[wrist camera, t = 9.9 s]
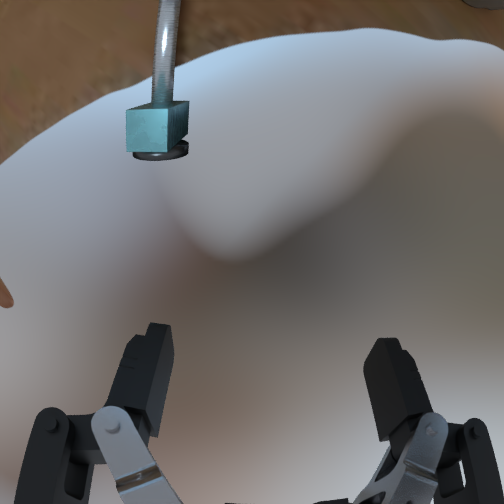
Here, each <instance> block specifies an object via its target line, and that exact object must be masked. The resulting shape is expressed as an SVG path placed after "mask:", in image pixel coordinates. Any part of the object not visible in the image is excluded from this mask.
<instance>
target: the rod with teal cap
mask: <svg viewBox="0 0 504 504" xmlns="http://www.w3.org/2000/svg"><path fill="white" fill-rule="evenodd" d="M180 5H181V0H159V7H158V15H157V25H156V35H155V46H154V60H153V76H152V101H151V103H148V104H144V105H141V106H138V107H134V108H131V109H128V110H126V144H127V145H126V146H127V152H133V157H134V158H136V159H139V160H147V161H161V160H171V159H177V158H180V157H183V156H186V155H187V154H188V148H189V146H188V145H189V143H188V142H187V141H185V140H181V139H182V138H183V137H185V136H186V135H187V134H188V117H189V116H188V115H189V101H173V84H174V69H175V55H176V43H177V32H178V23H179V14H180Z"/></svg>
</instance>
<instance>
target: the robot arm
mask: <svg viewBox="0 0 504 504" xmlns="http://www.w3.org/2000/svg"><path fill="white" fill-rule="evenodd" d="M463 1H464V2H465V3H467V4H469V5H470V6H473V7H475V8H488V9H489V10H498V9H504V0H463ZM173 362H174V346H173V339H172V332H171V326H170V325H166V324H158V323H150V324H149V327H148V329H147V332H146V335H145V336H142V335H137V334H136V335H135V336H134V337H133V338H132V339H131V340H130V341H129V342H128V343H127V345H126V348H125V351H124V354H123V358H122V359H121V362H120V364H119V367H118V370H117V373H116V376H115V378H114V381H113V384H112V387H111V390H110V393H109V396H108V399H107V402H106V403H105V405H104V406H103V407H102V408H101V409H99V410H98V411H97V412H95V413H93V414H89V415H66V414H65V413H64V412H63V411H61V410H60V409H58V408H54V407H50V408H45V409H43V410H42V411H41V412H39V414H38V415H37V416H36V419H35V422H34V425H33V428H32V431H31V434H30V438H29V441H28V445H27V448H26V452H25V456H24V460H23V463H22V468H21V471H20V477H19V480H18V485H17V490H16V495H15V500H14V504H88V501H89V495H90V488H91V482H92V476H93V470H94V464H107V465H108V467H109V469H110V471H111V473H112V475H113V477H114V479H115V481H116V488H117V491H118V493H119V495H120V497H121V499H122V501H123V502H124V504H183V502H182V501H181V500H180V498H179V497H178V495H177V494H176V492H175V491H174V489H173V488H172V487H171V485H170V484H169V482H168V481H167V479H166V477H165V476H164V475H163V473H162V471H161V470H160V468H159V466H158V465H157V463H156V461H155V460H154V458H153V456H152V455H151V453H150V451H149V449H148V448H147V447H148V442H149V437H150V436H152V437H158V433H159V428H160V423H161V418H162V413H163V408H164V404H165V399H166V394H167V390H168V385H169V381H170V376H171V372H172V367H173ZM363 369H364V370H363V372H364V377H365V381H366V385H367V389H368V393H369V397H370V401H371V405H372V409H373V414H374V418H375V422H376V426H377V431H378V436H379V441H380V442H382V441H388V440H389V441H390V446H389V447H388V449H387V450H386V453H385V455H384V457H383V458H382V461H381V462H380V464H379V466H378V468H377V470H376V472H375V473H374V475H373V477H372V479H371V480H370V482H369V484H368V485H367V486H366V487H365V488H364V489H363V490H362V491H361V492H360V494H359V495H358V496H357V498H356V499H355V501H354V502H353V503H348V498H345V499H337V500H330V501H321V502H317V503H314V504H430V502H431V500H432V498H433V499H434V504H504V496H503V490H502V485H501V480H500V475H499V471H498V467H497V462H496V459H495V454H494V451H493V447H492V444H491V440H490V436H489V433H488V430H487V427H486V425H485V424H484V422H483V421H481V420H480V419H477V418H472V419H469V420H468V421H467V422H466V423H464V424H454V423H447V422H446V420H445V419H444V418H443V417H442V416H441V415H440V414H438V413H434V412H433V409H432V407H431V404H430V401H429V398H428V395H427V392H426V390H425V387H424V384H423V382H422V380H421V376H420V374H419V372H418V368H417V366H416V363H415V361H414V359H413V358H412V356H411V355H410V354H409V353H408V352H407V350H402V348H401V345H400V343H399V340H398V339H397V338H378V339H377V341H376V342H375V344H374V346H373V348H372V349H371V351H370V353H369V355H368V357H367V358H366V360H365V362H364V368H363ZM461 460H462V464H463V469H464V474H465V479H466V485H465V487H464V485H463V481H462V475H461V470H460V465H459V461H461ZM225 504H234V503H225Z"/></svg>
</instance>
